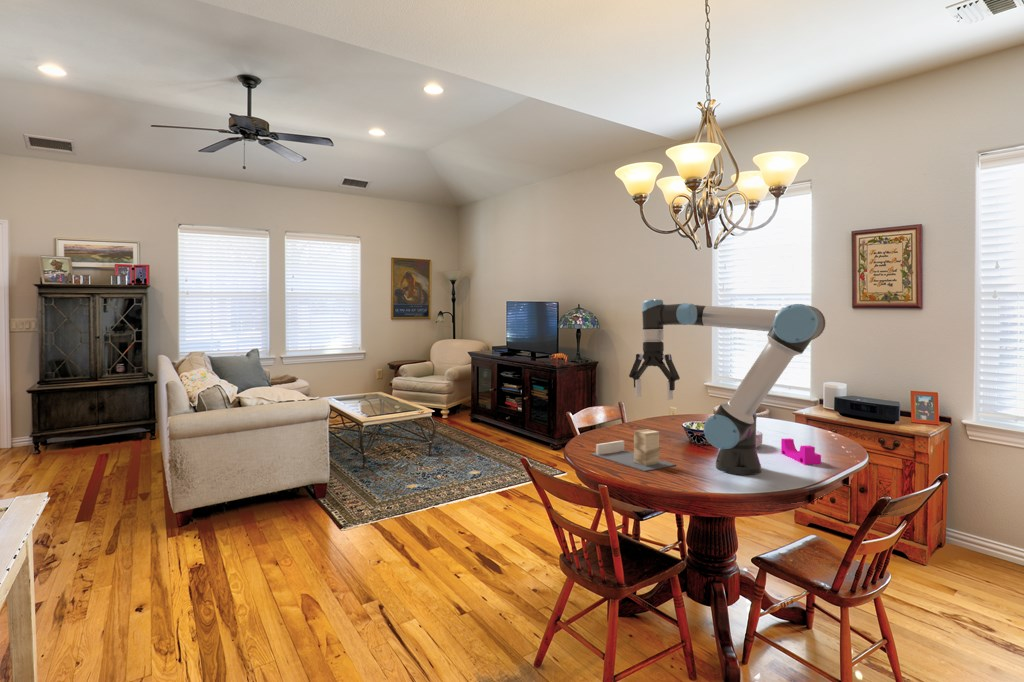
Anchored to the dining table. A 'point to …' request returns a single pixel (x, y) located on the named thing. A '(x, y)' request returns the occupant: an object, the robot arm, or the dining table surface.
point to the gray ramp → (631, 460)
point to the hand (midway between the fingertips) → (653, 398)
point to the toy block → (800, 452)
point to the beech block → (646, 447)
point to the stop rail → (609, 447)
